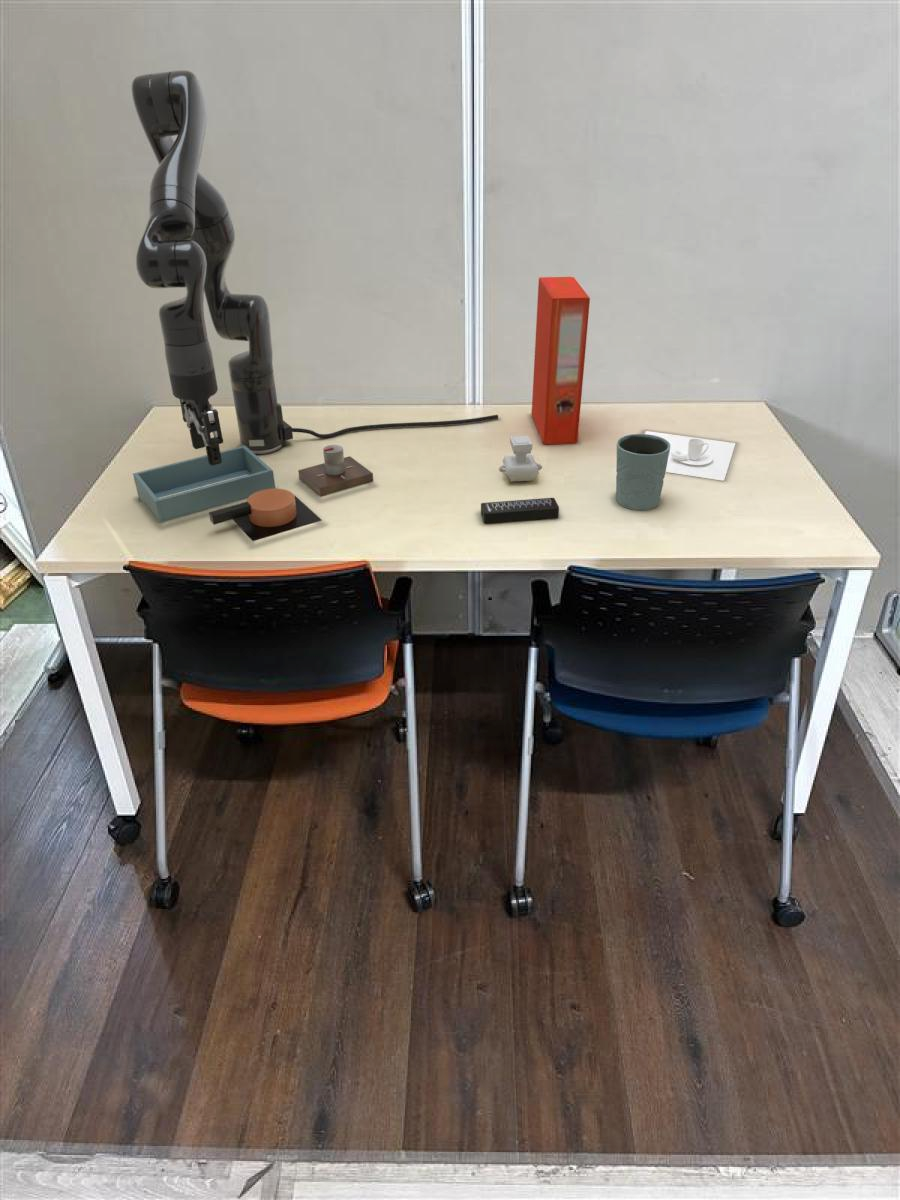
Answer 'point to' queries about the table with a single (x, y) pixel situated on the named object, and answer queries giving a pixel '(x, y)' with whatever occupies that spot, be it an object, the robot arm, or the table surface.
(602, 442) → the table surface
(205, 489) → the basin
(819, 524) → the table surface
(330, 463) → the tap dial
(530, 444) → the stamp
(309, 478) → the rotary knob panel
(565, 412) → the file binder
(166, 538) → the table surface
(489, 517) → the multiport hub
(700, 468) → the teacup and saucer
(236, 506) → the pan
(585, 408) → the table surface
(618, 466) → the green cup
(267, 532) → the plate
